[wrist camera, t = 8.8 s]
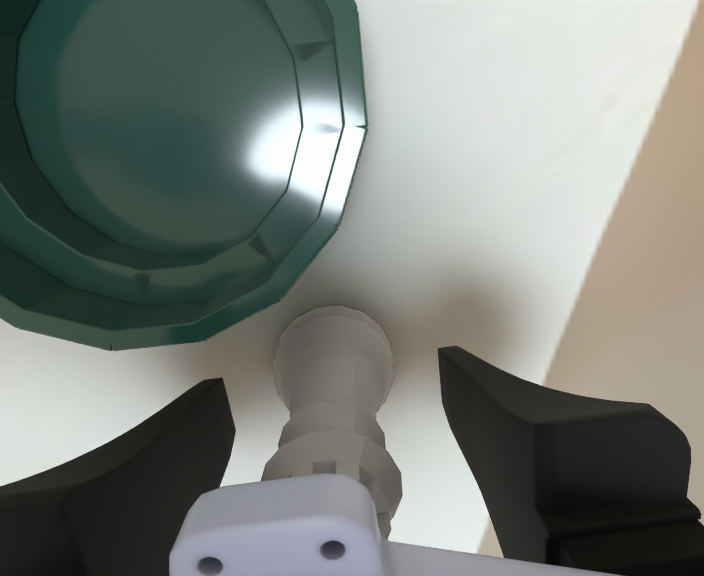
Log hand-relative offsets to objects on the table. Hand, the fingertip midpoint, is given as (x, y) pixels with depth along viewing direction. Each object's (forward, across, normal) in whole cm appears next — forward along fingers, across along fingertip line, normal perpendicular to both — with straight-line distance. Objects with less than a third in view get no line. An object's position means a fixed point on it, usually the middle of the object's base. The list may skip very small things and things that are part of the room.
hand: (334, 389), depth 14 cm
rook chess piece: (+3, 0, 0) cm, 3 cm away
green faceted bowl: (+3, +4, -9) cm, 10 cm away
